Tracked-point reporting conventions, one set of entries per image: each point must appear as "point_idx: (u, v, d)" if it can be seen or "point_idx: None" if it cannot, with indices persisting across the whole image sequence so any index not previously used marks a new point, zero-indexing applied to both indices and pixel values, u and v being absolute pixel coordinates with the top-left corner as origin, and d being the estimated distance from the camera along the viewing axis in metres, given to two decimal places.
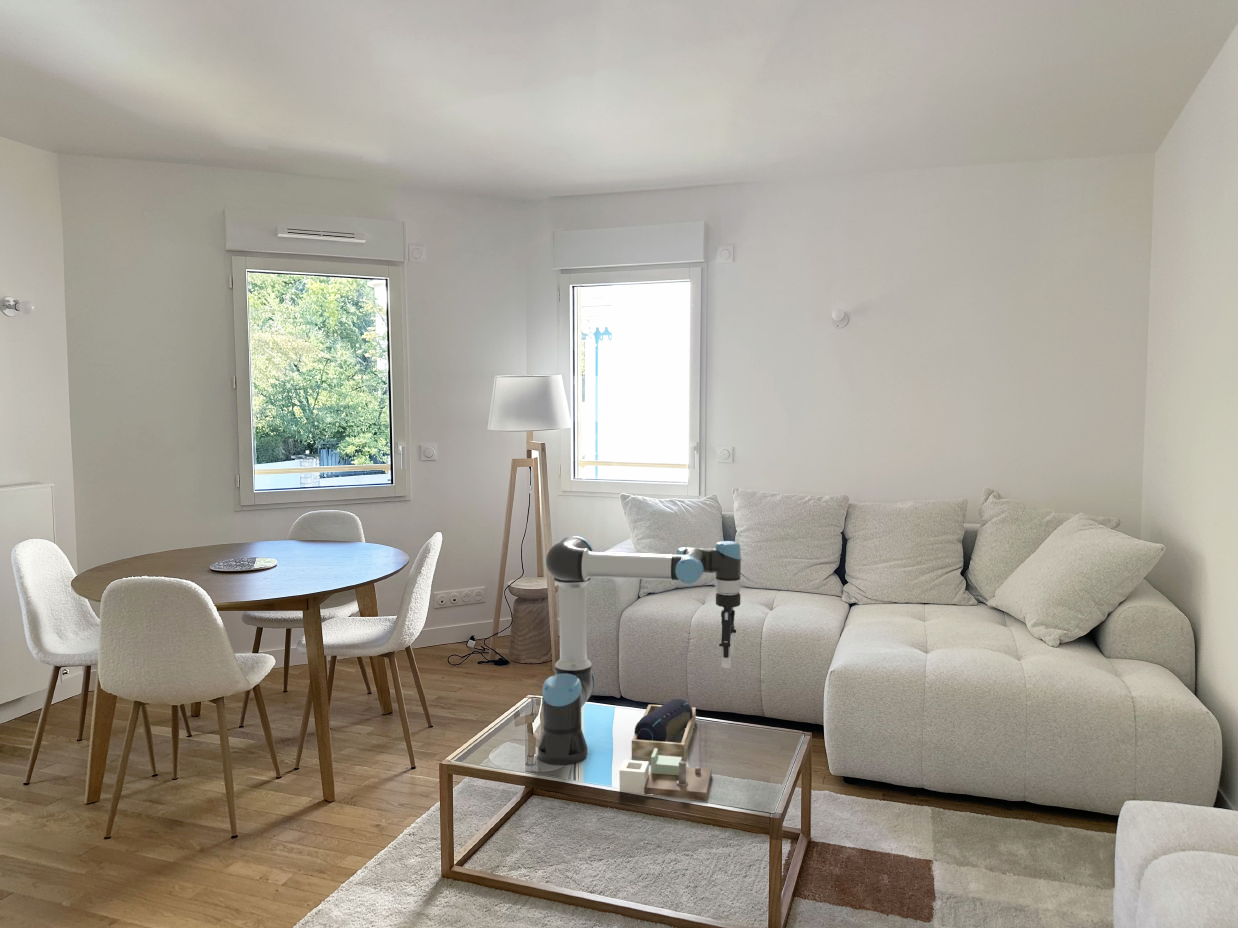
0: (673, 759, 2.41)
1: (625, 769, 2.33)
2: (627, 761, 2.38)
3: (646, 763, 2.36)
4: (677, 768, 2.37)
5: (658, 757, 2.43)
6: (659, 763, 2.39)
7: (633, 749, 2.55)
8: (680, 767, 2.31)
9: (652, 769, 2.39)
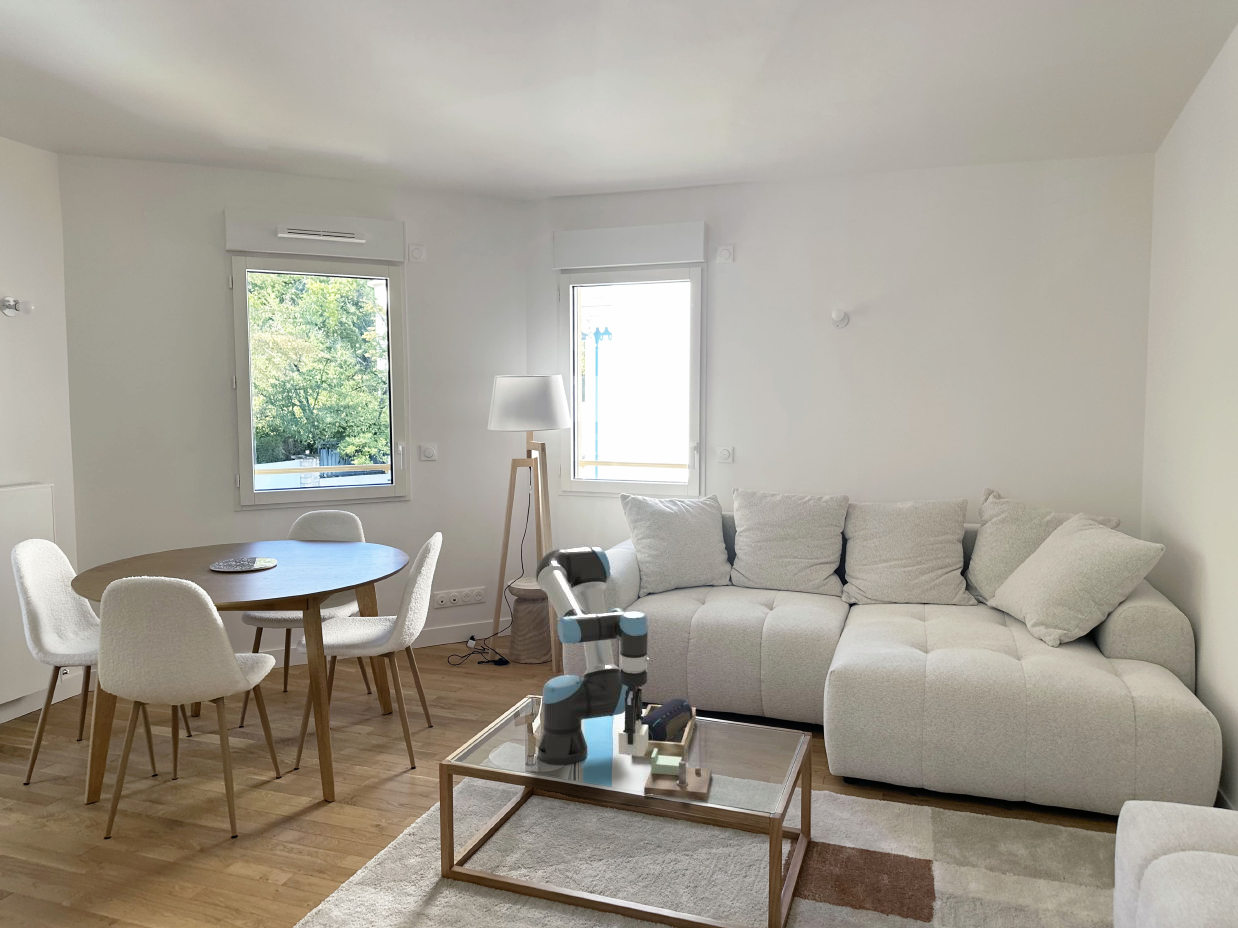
0: (673, 759, 2.41)
1: None
2: None
3: (645, 726, 2.36)
4: (677, 768, 2.37)
5: (658, 757, 2.43)
6: (659, 763, 2.39)
7: None
8: (680, 767, 2.31)
9: (652, 769, 2.39)
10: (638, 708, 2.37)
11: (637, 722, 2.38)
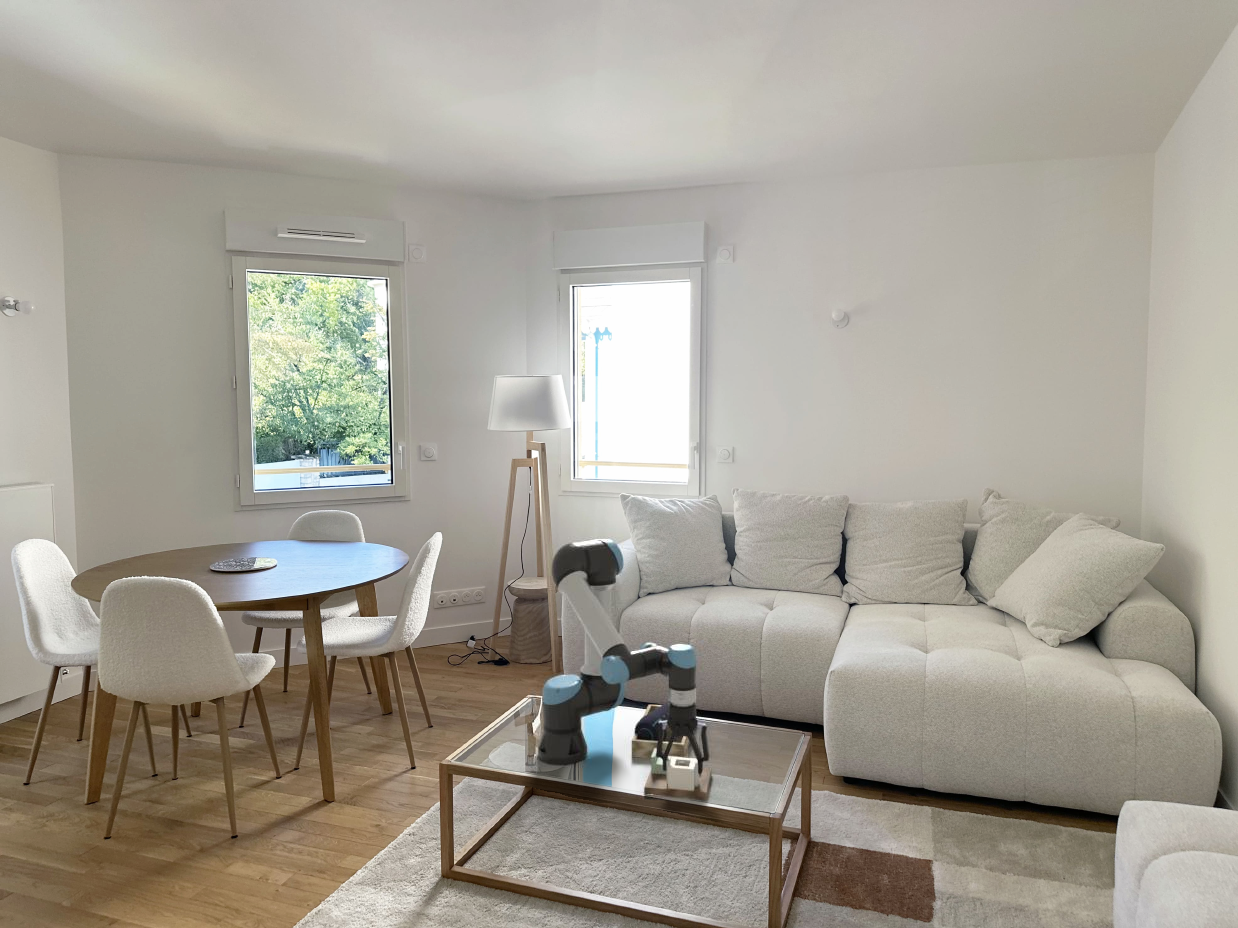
0: None
1: (673, 759, 2.34)
2: (692, 759, 2.34)
3: (688, 768, 2.28)
4: None
5: None
6: (659, 763, 2.39)
7: (633, 749, 2.55)
8: None
9: (652, 769, 2.39)
10: None
11: (695, 763, 2.31)
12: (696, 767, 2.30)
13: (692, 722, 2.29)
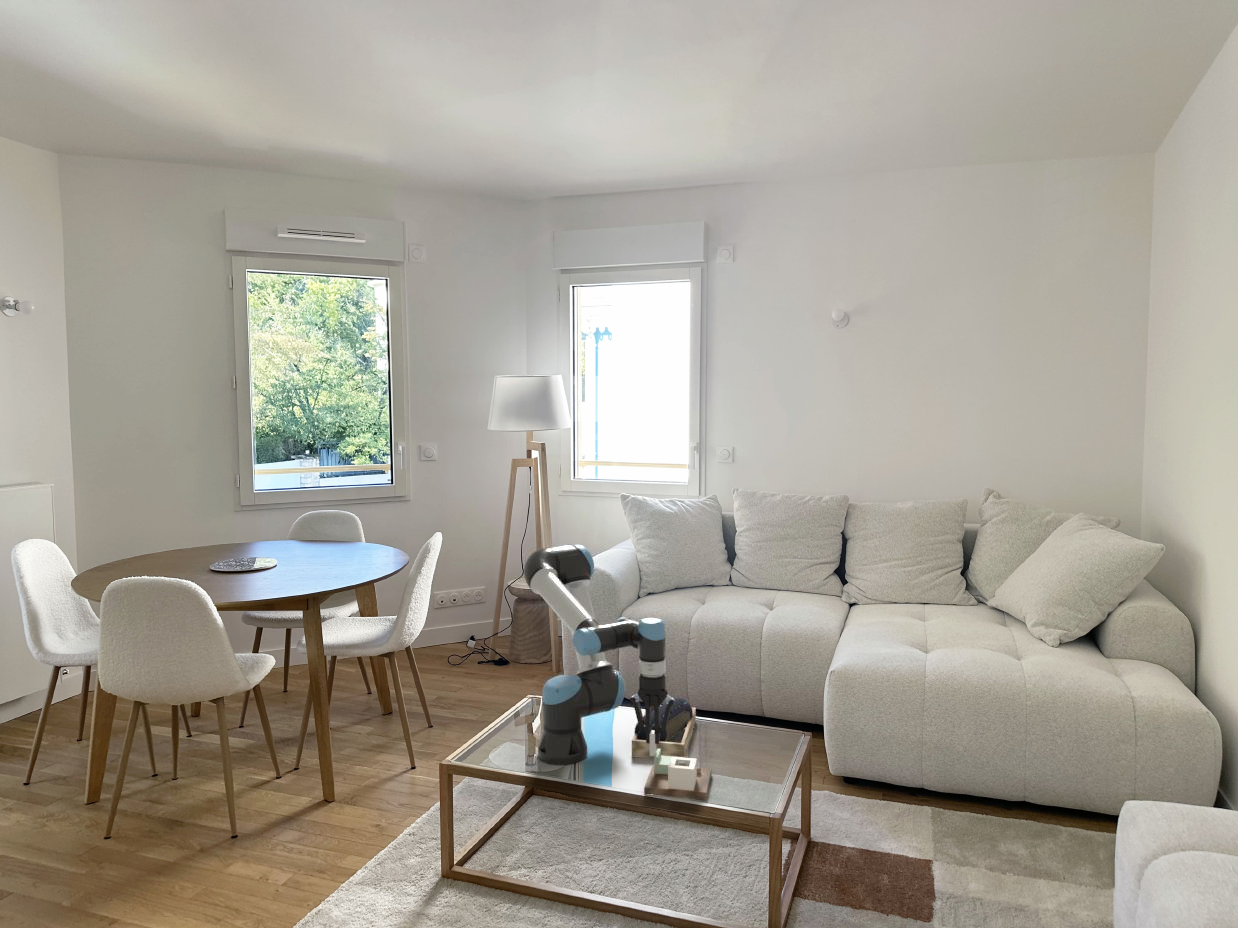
0: None
1: (673, 759, 2.34)
2: (692, 759, 2.34)
3: (688, 768, 2.28)
4: None
5: (661, 757, 2.42)
6: (662, 763, 2.38)
7: (633, 749, 2.55)
8: None
9: (655, 769, 2.38)
10: None
11: None
12: (653, 737, 2.39)
13: (662, 693, 2.38)
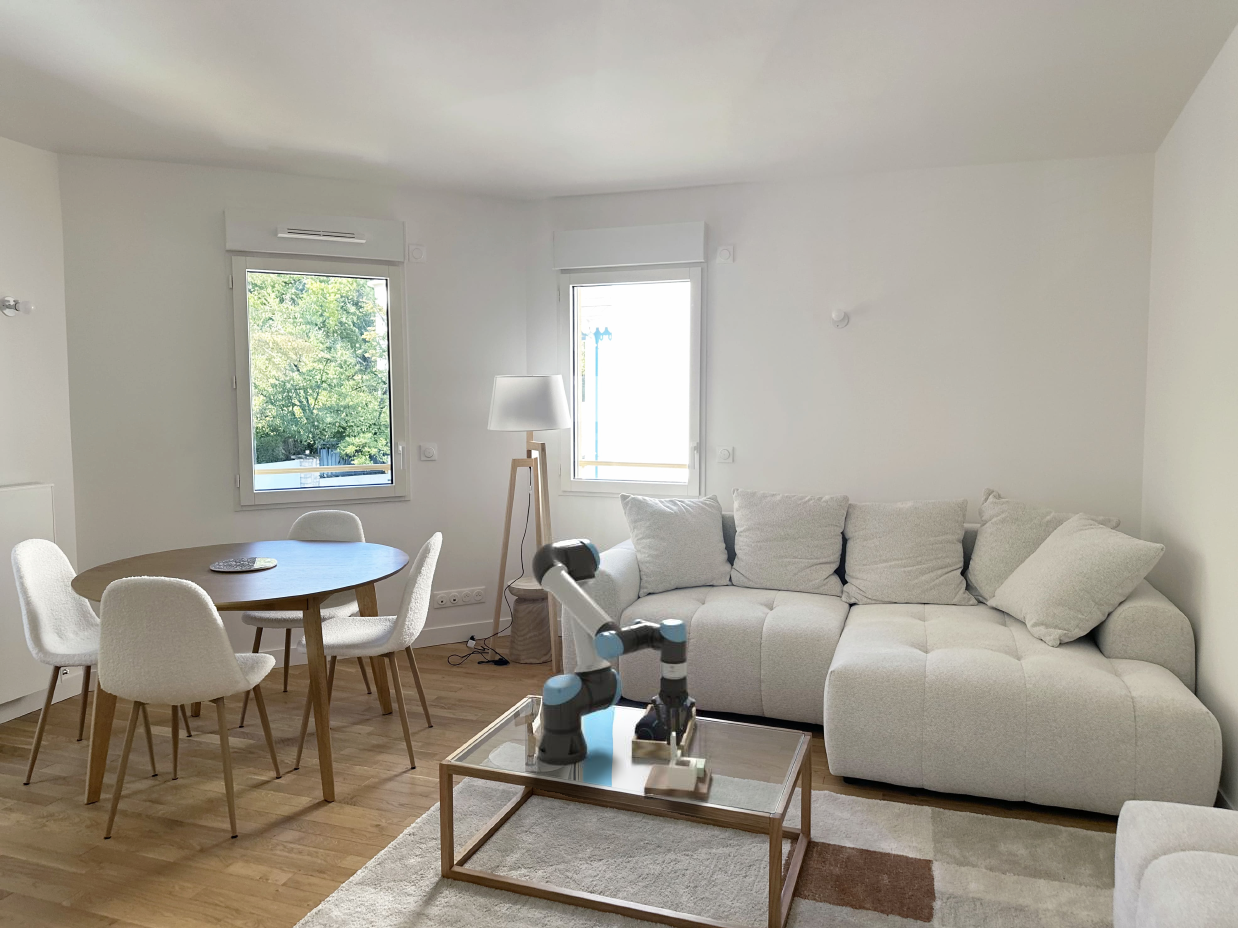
0: (697, 761, 2.40)
1: (673, 759, 2.34)
2: (692, 759, 2.34)
3: (688, 768, 2.28)
4: (701, 770, 2.36)
5: None
6: None
7: (633, 749, 2.55)
8: None
9: None
10: None
11: None
12: (674, 739, 2.38)
13: (683, 694, 2.37)
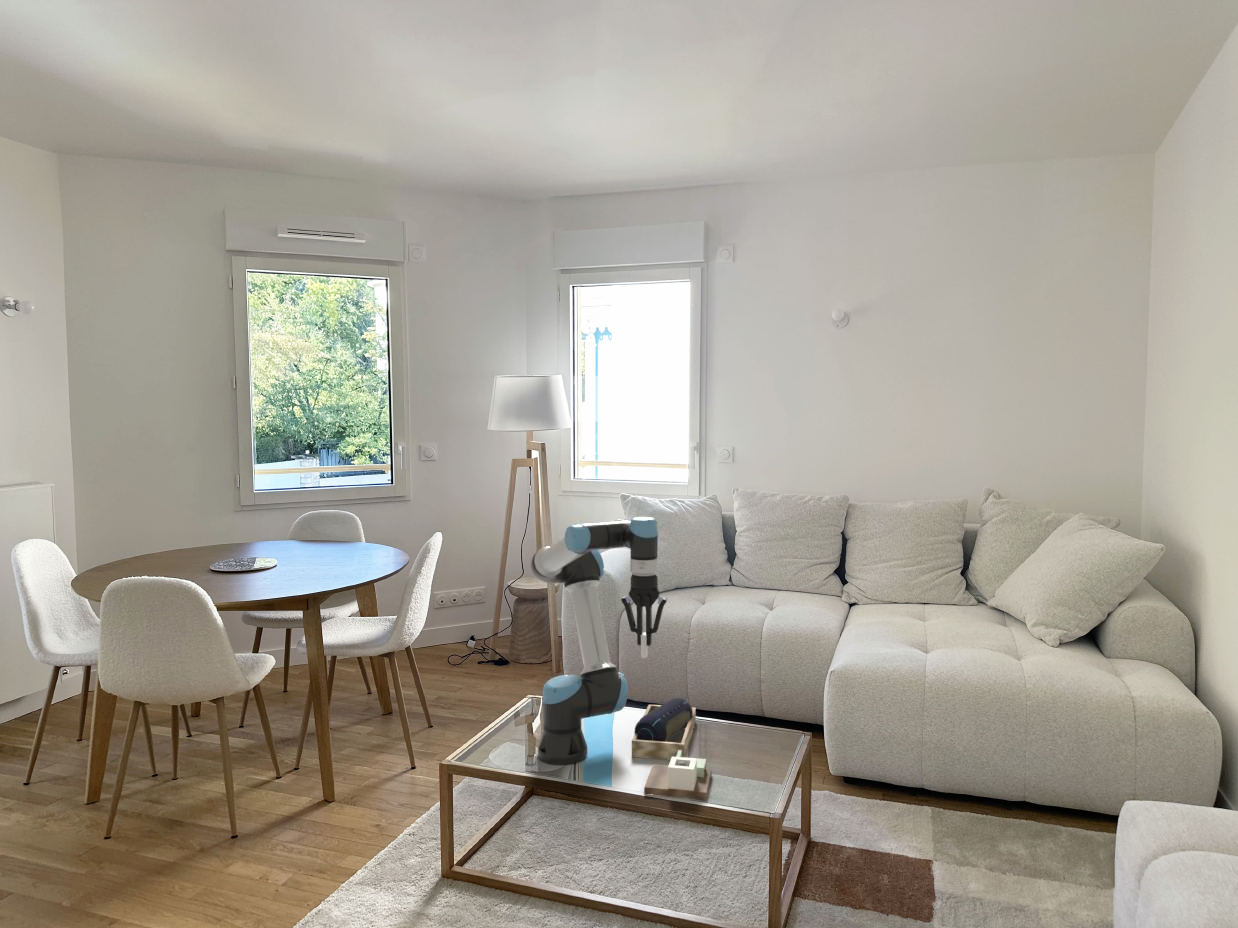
0: (698, 761, 2.39)
1: (673, 759, 2.34)
2: (692, 759, 2.34)
3: (688, 768, 2.28)
4: (702, 770, 2.36)
5: None
6: None
7: (633, 749, 2.55)
8: None
9: None
10: (646, 618, 2.33)
11: None
12: (644, 639, 2.33)
13: (654, 592, 2.32)
